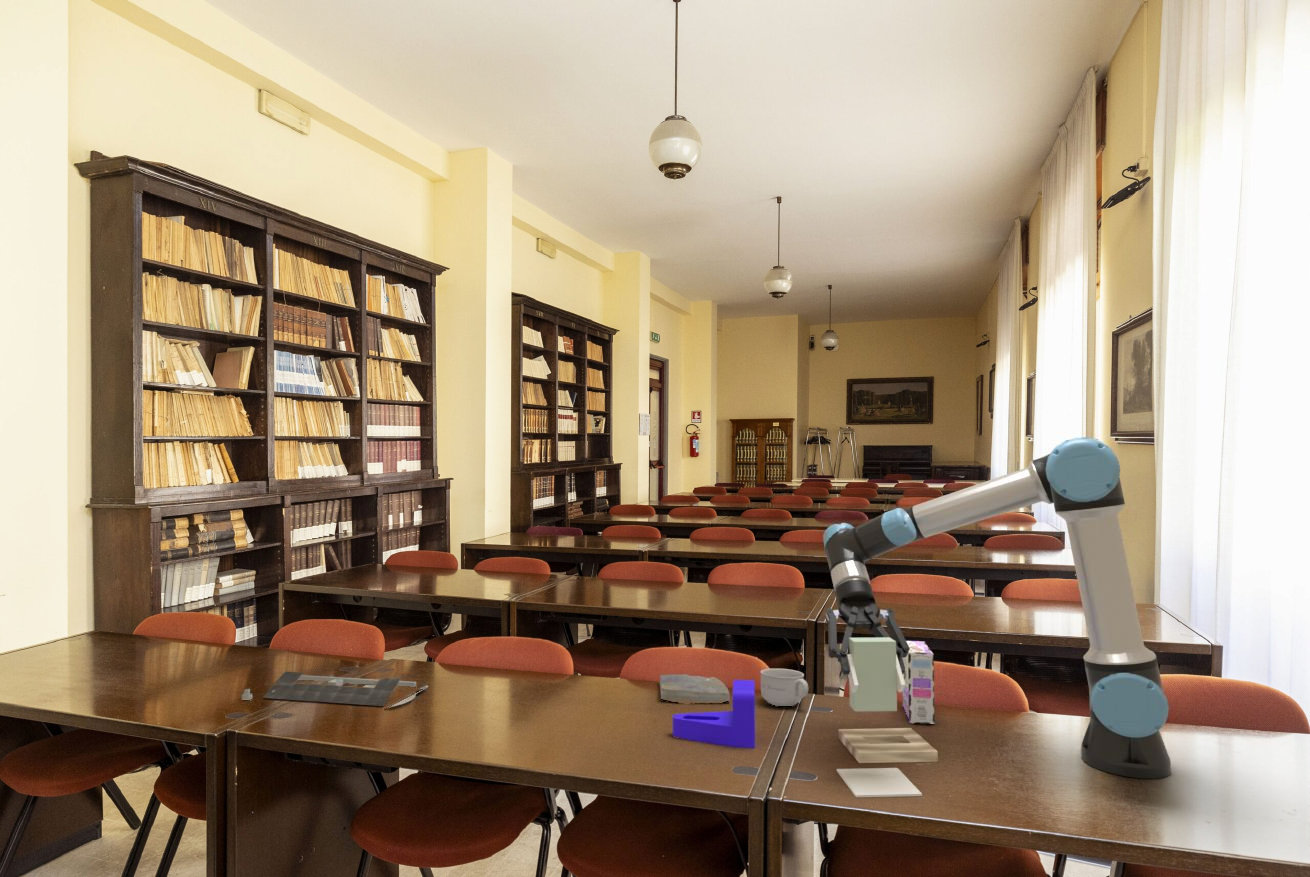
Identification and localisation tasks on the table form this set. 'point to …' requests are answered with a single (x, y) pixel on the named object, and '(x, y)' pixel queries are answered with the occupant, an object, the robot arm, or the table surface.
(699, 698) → the fossil
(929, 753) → the wooden square base
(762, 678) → the teacup
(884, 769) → the white square tile
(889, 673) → the tall mint prism
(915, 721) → the candy box
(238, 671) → the table surface
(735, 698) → the bracket
